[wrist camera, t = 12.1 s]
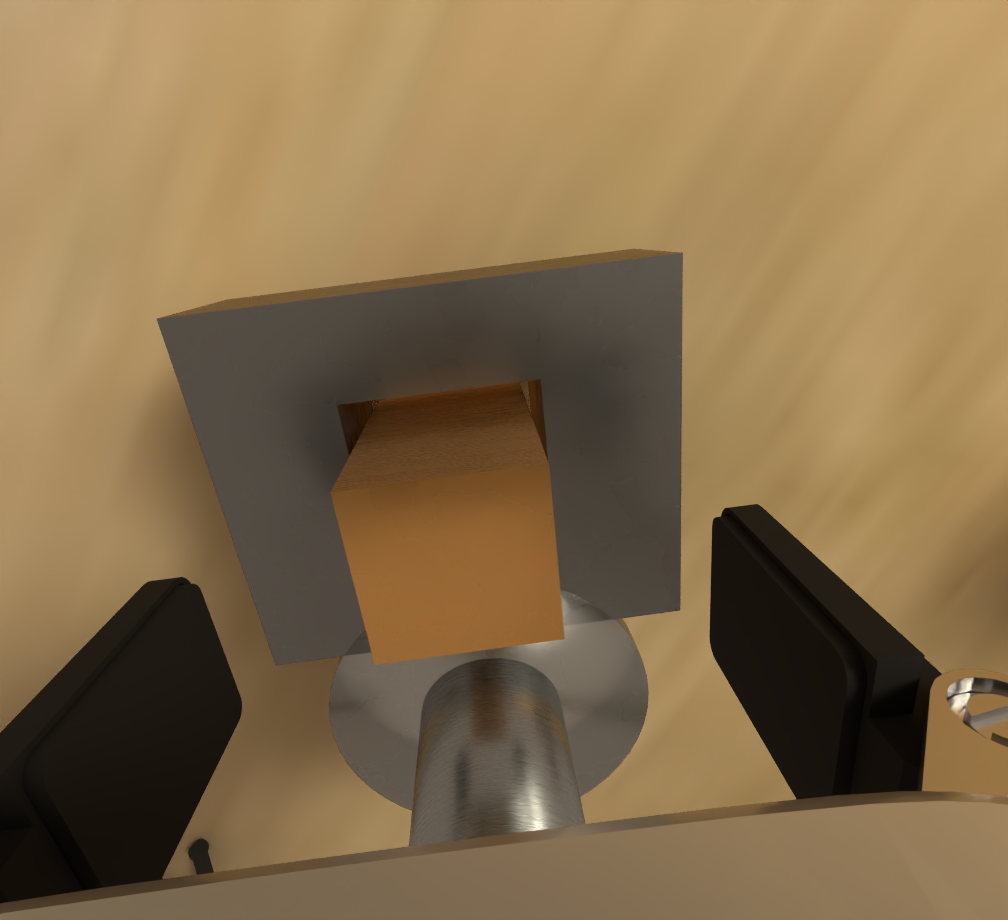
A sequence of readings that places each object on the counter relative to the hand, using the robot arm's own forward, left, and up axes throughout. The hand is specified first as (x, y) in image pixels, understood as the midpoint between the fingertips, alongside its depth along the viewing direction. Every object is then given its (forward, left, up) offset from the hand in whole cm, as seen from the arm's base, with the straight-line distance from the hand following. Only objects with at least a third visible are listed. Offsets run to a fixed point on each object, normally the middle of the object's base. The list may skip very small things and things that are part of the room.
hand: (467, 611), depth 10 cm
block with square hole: (0, +4, -13) cm, 13 cm away
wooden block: (0, 0, -13) cm, 13 cm away
